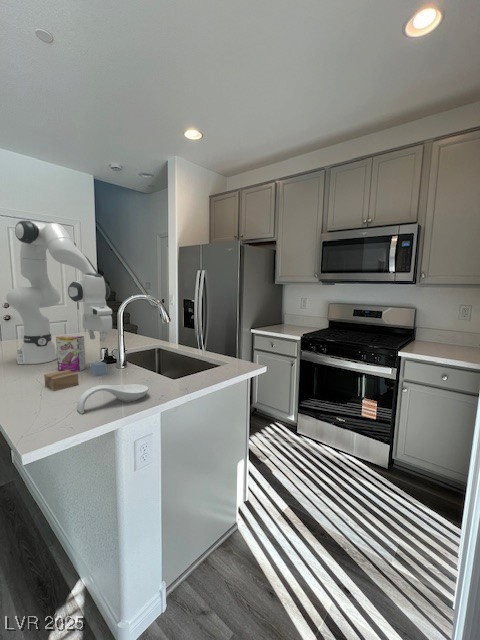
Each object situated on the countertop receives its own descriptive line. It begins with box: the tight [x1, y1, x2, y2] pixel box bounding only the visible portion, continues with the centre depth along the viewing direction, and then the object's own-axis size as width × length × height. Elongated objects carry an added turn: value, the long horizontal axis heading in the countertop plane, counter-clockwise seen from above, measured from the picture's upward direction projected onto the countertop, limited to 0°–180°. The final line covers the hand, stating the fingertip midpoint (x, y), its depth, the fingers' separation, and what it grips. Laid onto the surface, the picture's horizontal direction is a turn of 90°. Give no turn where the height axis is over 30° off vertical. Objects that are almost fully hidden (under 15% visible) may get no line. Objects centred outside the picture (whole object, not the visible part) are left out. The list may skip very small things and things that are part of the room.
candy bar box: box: [55, 334, 87, 372], centre depth 140 cm, size 11×5×16 cm, turn 84°
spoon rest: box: [76, 383, 149, 415], centre depth 103 cm, size 24×12×7 cm, turn 136°
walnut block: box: [44, 370, 79, 392], centre depth 119 cm, size 9×9×5 cm
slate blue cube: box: [89, 361, 108, 377], centre depth 135 cm, size 5×5×5 cm
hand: (97, 340), depth 133 cm, fingers open, 8 cm apart
